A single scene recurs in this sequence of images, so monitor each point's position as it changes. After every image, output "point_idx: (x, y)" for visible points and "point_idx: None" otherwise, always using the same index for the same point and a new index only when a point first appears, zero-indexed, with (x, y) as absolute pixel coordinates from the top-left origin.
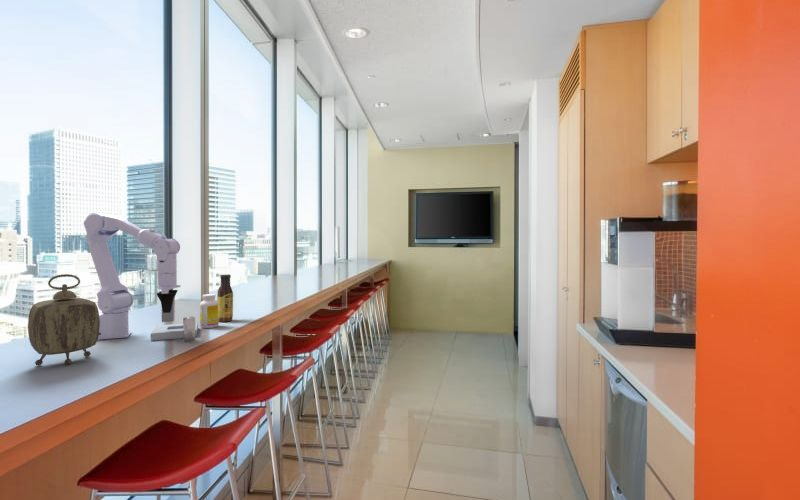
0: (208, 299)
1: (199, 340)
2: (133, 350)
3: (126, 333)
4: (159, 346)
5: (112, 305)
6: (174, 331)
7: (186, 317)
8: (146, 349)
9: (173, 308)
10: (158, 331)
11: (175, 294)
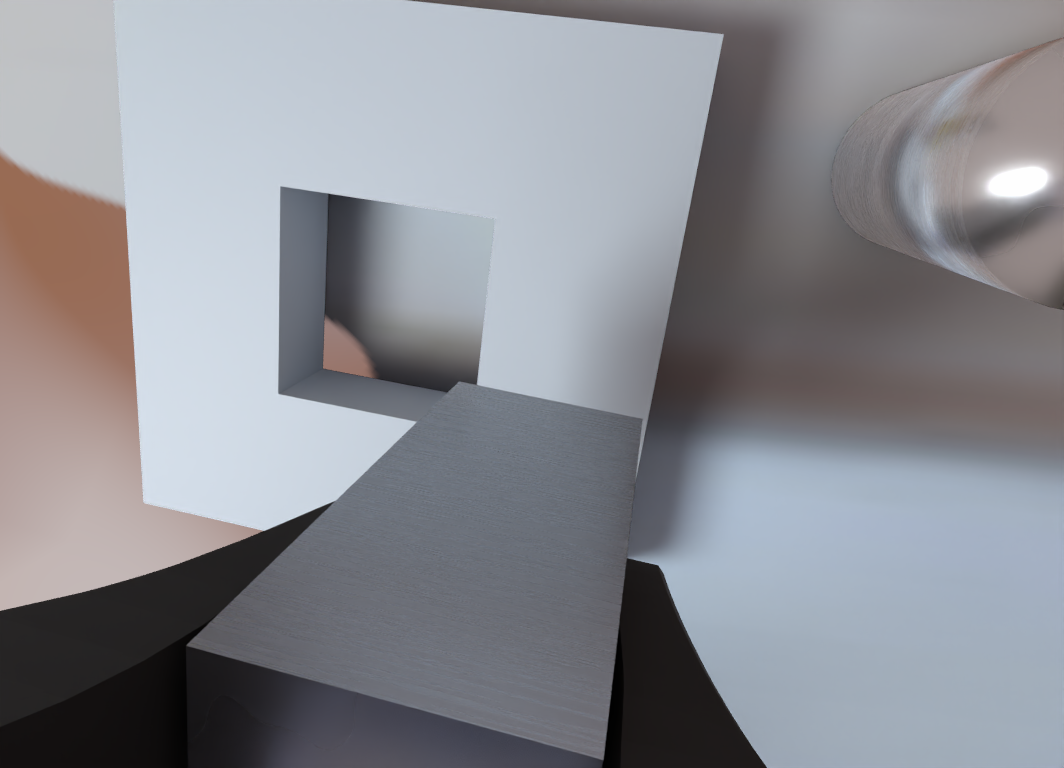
0: None
1: (1012, 30)
2: (987, 740)
3: None
4: (991, 523)
5: None
6: (655, 358)
7: (1061, 237)
8: (1043, 645)
9: (626, 542)
10: None
11: (62, 699)
